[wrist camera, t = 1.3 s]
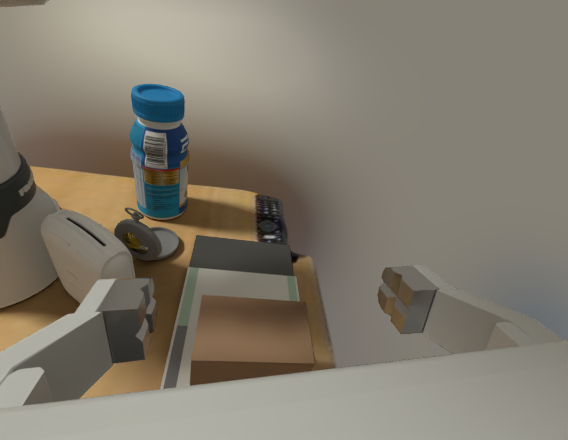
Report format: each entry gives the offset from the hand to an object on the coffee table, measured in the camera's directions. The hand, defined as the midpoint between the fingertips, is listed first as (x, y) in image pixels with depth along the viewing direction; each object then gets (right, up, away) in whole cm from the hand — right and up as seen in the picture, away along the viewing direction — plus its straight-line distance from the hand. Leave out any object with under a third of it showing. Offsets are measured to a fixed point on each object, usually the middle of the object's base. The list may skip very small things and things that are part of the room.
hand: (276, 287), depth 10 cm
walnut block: (-5, -15, +21) cm, 26 cm away
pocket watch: (-20, -2, +34) cm, 39 cm away
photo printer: (-23, -8, +26) cm, 35 cm away
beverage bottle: (-21, +5, +42) cm, 47 cm away
